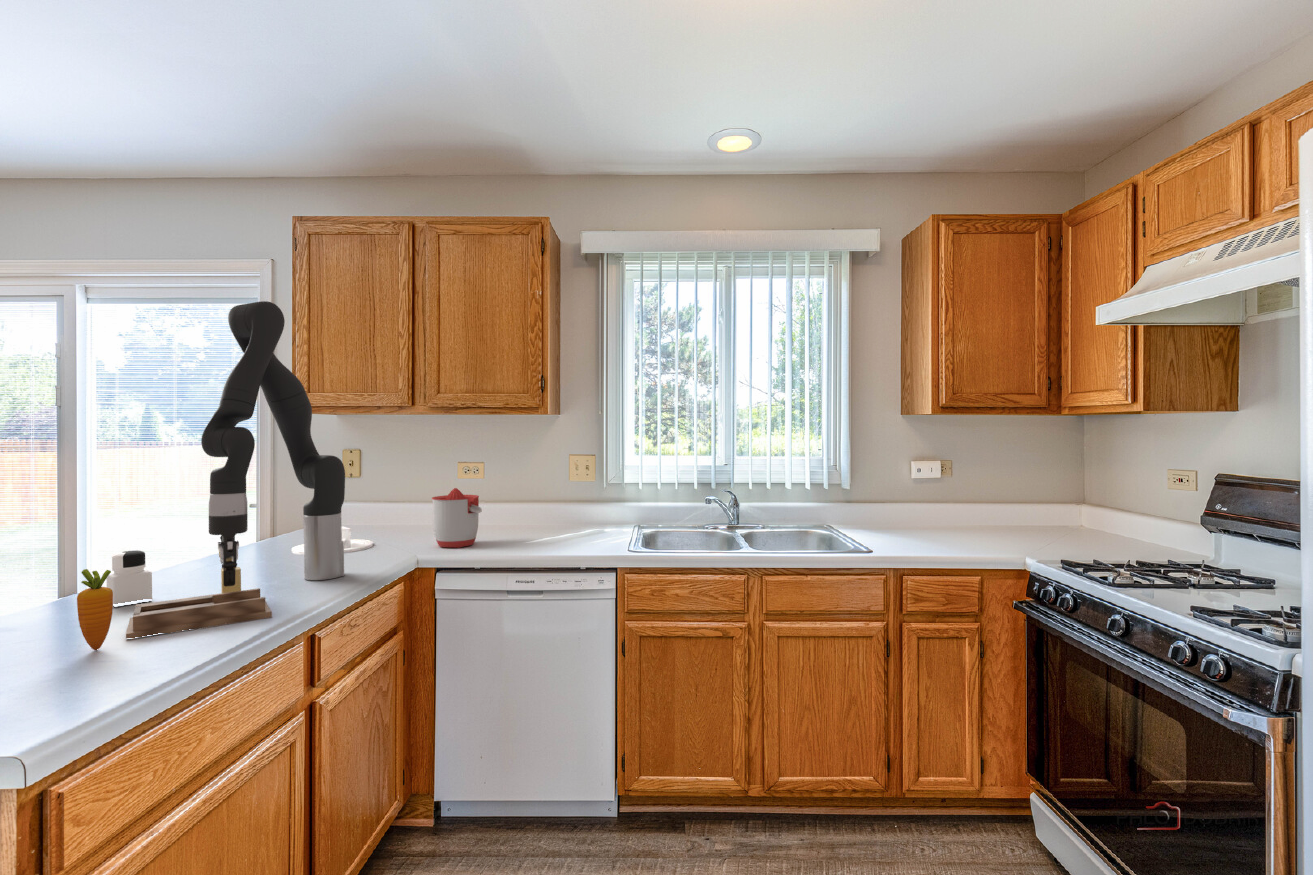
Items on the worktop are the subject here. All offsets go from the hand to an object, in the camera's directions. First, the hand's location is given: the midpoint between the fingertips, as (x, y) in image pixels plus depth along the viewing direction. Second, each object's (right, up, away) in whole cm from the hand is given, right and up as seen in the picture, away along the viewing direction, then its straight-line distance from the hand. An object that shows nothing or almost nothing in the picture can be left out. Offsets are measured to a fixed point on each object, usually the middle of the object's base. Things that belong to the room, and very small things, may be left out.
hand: (228, 582), depth 149 cm
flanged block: (0, -5, 0) cm, 5 cm away
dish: (-12, -5, +71) cm, 72 cm away
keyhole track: (+3, -5, -14) cm, 15 cm away
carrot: (-3, -5, -32) cm, 33 cm away
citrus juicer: (+31, -4, +73) cm, 80 cm away
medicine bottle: (-24, -5, +2) cm, 25 cm away
